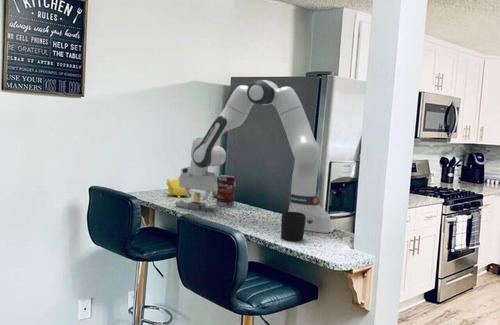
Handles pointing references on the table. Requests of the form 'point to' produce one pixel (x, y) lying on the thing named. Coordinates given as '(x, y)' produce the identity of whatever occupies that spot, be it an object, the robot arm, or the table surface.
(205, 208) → the chain joint
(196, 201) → the pin
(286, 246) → the table surface
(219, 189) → the supplement box
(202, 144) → the robot arm
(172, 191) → the teapot
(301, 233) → the pen holder
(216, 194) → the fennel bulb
